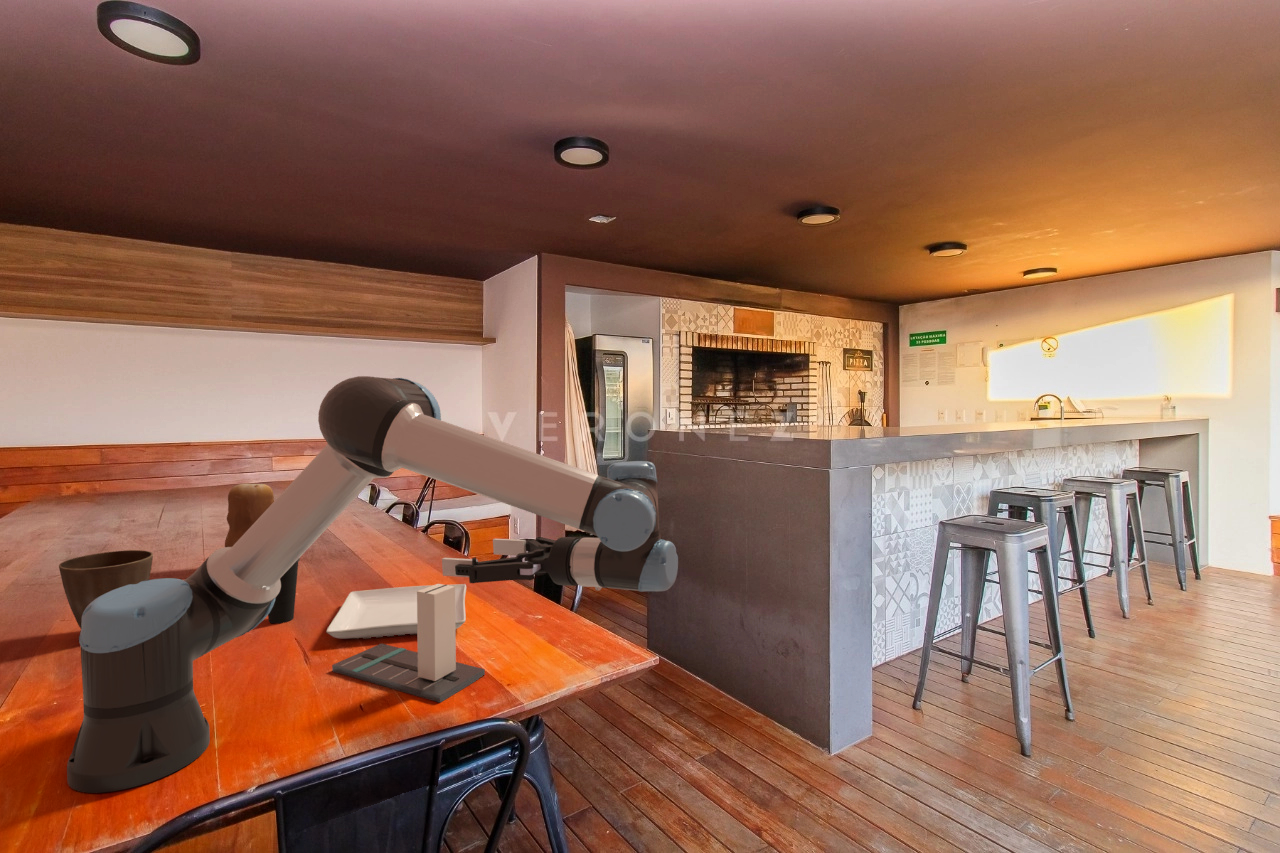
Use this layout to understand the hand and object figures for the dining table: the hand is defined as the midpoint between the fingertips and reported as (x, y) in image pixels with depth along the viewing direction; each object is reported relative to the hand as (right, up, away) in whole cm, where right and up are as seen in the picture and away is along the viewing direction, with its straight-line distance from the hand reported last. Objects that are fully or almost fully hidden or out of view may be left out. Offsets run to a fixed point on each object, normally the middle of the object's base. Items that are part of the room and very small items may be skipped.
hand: (470, 555), depth 104 cm
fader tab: (-7, -21, +3) cm, 23 cm away
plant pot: (-83, -22, +24) cm, 89 cm away
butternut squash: (-85, -20, +75) cm, 115 cm away
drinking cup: (-52, -21, +33) cm, 65 cm away
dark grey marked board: (-13, -23, +6) cm, 27 cm away
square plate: (-25, -22, +34) cm, 48 cm away
